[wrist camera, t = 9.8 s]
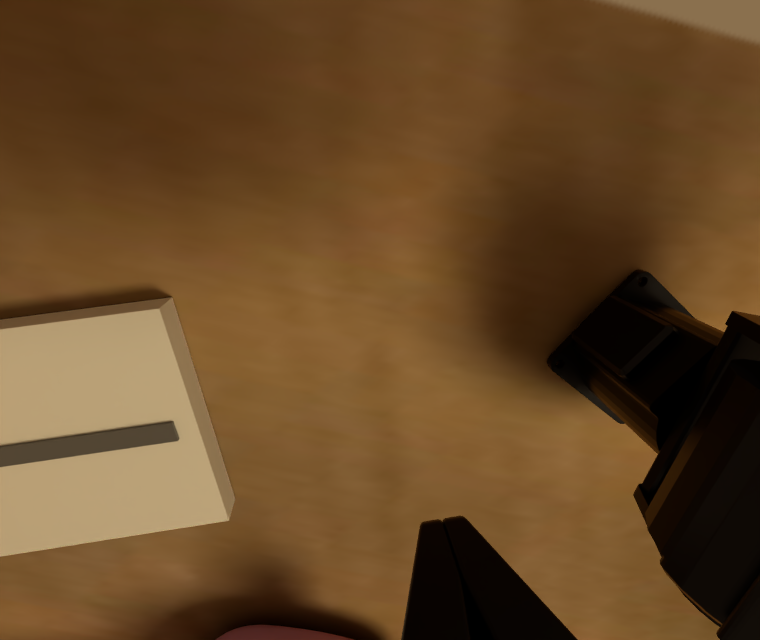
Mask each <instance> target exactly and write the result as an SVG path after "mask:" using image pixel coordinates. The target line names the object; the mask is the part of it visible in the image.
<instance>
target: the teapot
mask: <svg viewBox="0 0 760 640" xmlns="http://www.w3.org/2000/svg"><path fill="white" fill-rule="evenodd" d="M216 640H354V639H350V638H346V637H342V636H338V635H333V634H329V633H324V632H319V631H313V630H307V629H300V628H292V627H285V626H274V625H248V626H243V627H239V628H236V629H233V630H231V631H228V632H226V633H225V634H223V635H222V636H220V637H218V638H217V639H216Z"/></svg>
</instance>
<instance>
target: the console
mask: <svg viewBox="0 0 760 640" xmlns="http://www.w3.org/2000/svg"><path fill="white" fill-rule="evenodd" d="M234 501H235V497H234V493H233V490H232V487H231V484H230V481H229V477H228V474H227V471H226V468H225V465H224V461H223V458H222V455H221V452H220V449H219V445H218V442H217V439H216V436H215V433H214V429H213V426H212V423H211V420H210V417H209V413H208V410H207V407H206V404H205V401H204V397H203V394H202V391H201V388H200V385H199V381H198V378H197V375H196V372H195V369H194V365H193V362H192V359H191V356H190V353H189V349H188V346H187V343H186V340H185V337H184V333H183V330H182V327H181V324H180V320H179V317H178V314H177V311H176V308H175V304H174V301H173V298H172V297H170V298H162V299H154V300H147V301H139V302H131V303H124V304H116V305H108V306H101V307H93V308H86V309H78V310H70V311H63V312H55V313H47V314H40V315H32V316H24V317H17V318H9V319H1V320H0V556H6V555H13V554H19V553H26V552H32V551H38V550H45V549H51V548H57V547H64V546H70V545H77V544H83V543H89V542H96V541H102V540H108V539H115V538H121V537H128V536H134V535H140V534H147V533H153V532H159V531H166V530H172V529H179V528H185V527H191V526H198V525H204V524H210V523H217V522H223V521H229V518H230V515H231V512H232V508H233V505H234Z"/></svg>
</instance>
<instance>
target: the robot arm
mask: <svg viewBox="0 0 760 640" xmlns="http://www.w3.org/2000/svg"><path fill="white" fill-rule="evenodd" d="M641 277H642V281H641V282H640V283H639V284H638V280H639V279H640V278H641ZM725 324H726V325H727V328H726V330H725V332H722V331H720V330H718V329H716V328H714V327H712V326H709V325H707V324H705V323H703V322H701V321H699V320H697V319H695V318H694V317H693V316H692V315H691V314H690V313H689V312H688V311H687V310H686V309H685V308H684V307H683V306H682V305H681V304H680V303H679V302H678V301H677V300H676V299H675V298H674V297H673V296H672V295H671V294H670V293H669V292H668V291H667V290H666V289H665V288H664V287H663V286H662V285H661V284H660V283H659V282H658V281H657V280H656V279H655V278H654V277H653V276H652V275H651V274H650V273H649V272H646V271H644V270H636V271H634V272H633V273H631V274H630V275H629V276H628V277H627V278H626V279H625V280H624V281H623V282H622V283H621V284H620V285H619V286H618V287H617V288H616V289H615V290H614V291H613V292H612V293H611V294H610V295H609V296H608V297H607V298H606V299H605V300H604V301H603V302H602V303H601V304H600V305H599V306H598V307H597V308H596V309H595V310H594V311H593V312H592V313H591V314H590V315H589V316H588V318H587V319H586V320H585V321H584V322H583V323H582V324H581V325H580V326H579V327H578V328H577V329H576V330H575V331H574V332H573V333H572V334H571V335H570V336H569V337H568V338H567V339H566V340H565V341H564V342H563V343H562V344H561V345H560V346H559V347H558V348H557V349H556V350H555V351H554V352H553V353H552V354H551V355H550V356H549V358H548V361H547V364H548V366H549V367H550V368H551V369H552V370H553V371H554V372H555V373H556V374H557V375H559V376H560V377H561V378H563V379H564V380H565V381H566V382H568V383H569V384H570V385H571V386H573V387H574V388H575V389H576V390H578V391H579V392H580V393H581V394H583V395H584V396H585V397H586V398H588V399H589V400H590V401H591V402H593V403H594V404H595V405H596V406H598V407H599V408H600V409H602V410H603V411H604V412H605V413H607V414H608V415H609V416H610V417H612V418H613V419H614V420H615V421H617V422H618V423H620V424H624V423H625V424H626V425H627V426H629V427H630V428H631V429H632V430H633V431H634V432H635V433H636V434H637V435H638V436H639V437H640V438H641V439H642V440H643V441H644V442H646V443H647V444H648V445H649V446H650V447H651V448H652V449H653V450H654V451H655V452H656V453H657V454H658V455H657V457H656V459H655V461H654V463H653V464H652V466H651V468H650V470H649V472H648V474H647V475H646V477H645V479H644V481H643V483H642V484H639V485H638V486H637V488H636V490H635V492H634V494H633V496H634V498H635V500H636V502H637V504H638V507H639V509H640V511H641V513H642V515H643V517H644V520H645V522H646V524H647V528H648V531H649V533H650V535H651V536H652V538H653V540H654V542H655V544H656V546H657V548H658V550H659V552H660V555H661V557H662V558H661V559H660V564H661V566H662V568H663V570H664V571H665V573H666V574H667V575H668V576H669V578H670V579H671V580H672V581H673V582H674V583H675V584H676V586H677V587H678V588H679V589H680V591H681V592H682V593H683V595H684V596H685V597H686V598H687V599H688V600H689V601H690V602H691V603H692V604H693V605H694V606H695V607H696V608H697V609H698V610H699V611H700V612H701V613H703V614H704V615H705V616H706V617H708V618H709V619H710V620H711V621H712V622H714V623H715V624H716V625H718V626H719V627H720V628H719V629H718V631H717V636H718V638H719V639H720V640H760V316H757V315H752V314H747V313H742V312H737V311H732V312H731V314H730V316H729V318H728V320H727V322H726V323H725ZM558 360H561V362H560V363H559V364H558V365H555V364H556V362H557V361H558ZM401 640H577V639H576V637H575V636H574V635H573V634H572V633H571V632H570V631H569V630H568V629H567V628H566V627H565V626H564V624H563V623H562V622H561V621H560V620H559V619H558V618H557V617H556V616H555V615H554V614H553V612H552V611H551V610H550V609H549V608H548V607H547V606H546V605H545V604H544V603H543V602H542V601H541V599H540V598H539V597H538V596H537V595H536V594H535V593H534V592H533V591H532V590H531V589H530V587H529V586H528V585H527V584H526V583H525V582H524V581H523V580H522V579H521V578H520V577H519V575H518V574H517V573H516V572H515V571H514V570H513V569H512V568H511V567H510V566H509V565H508V564H507V562H506V561H505V560H504V559H503V558H502V557H501V556H500V555H499V554H498V553H497V552H496V550H495V549H494V548H493V547H492V546H491V545H490V544H489V543H488V542H487V541H486V540H485V539H484V537H483V536H482V535H481V534H480V533H479V532H478V531H477V530H476V529H475V528H474V527H473V525H472V524H471V523H470V522H469V521H468V520H467V519H466V518H465V517H463V516H456V517H449V518H445V519H444V520H443V522H442V521H441V520H439V519H437V520H431V521H425V522H422V523H421V525H420V529H419V535H418V541H417V547H416V554H415V560H414V566H413V572H412V578H411V584H410V590H409V596H408V602H407V608H406V614H405V620H404V626H403V632H402V638H401Z"/></svg>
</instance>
